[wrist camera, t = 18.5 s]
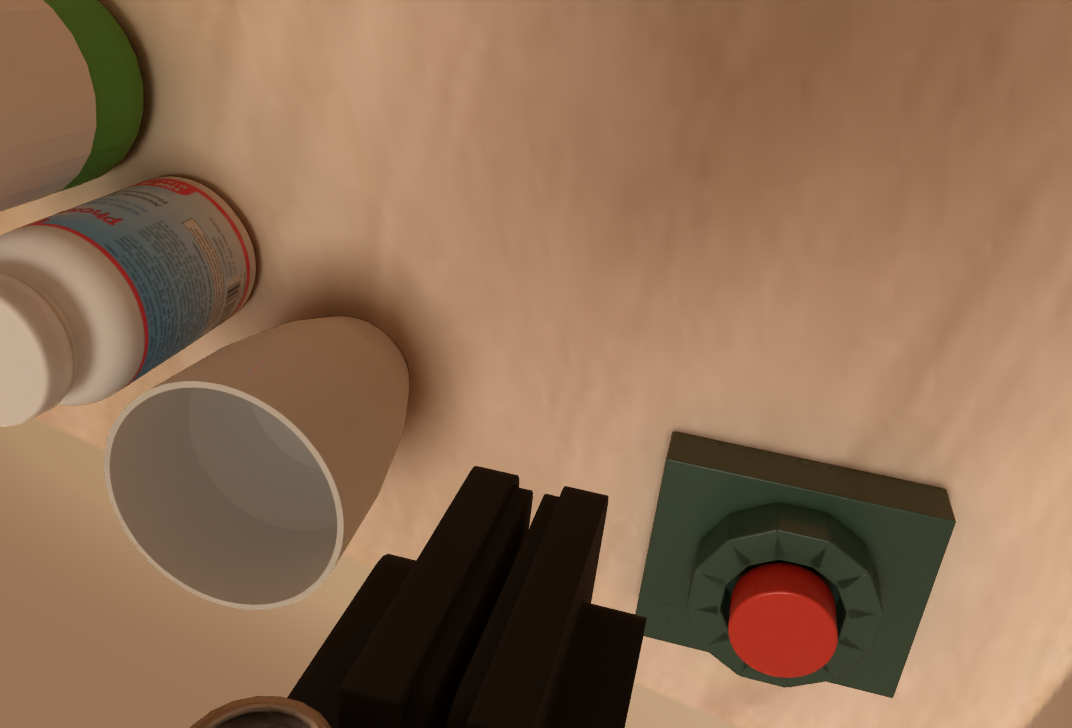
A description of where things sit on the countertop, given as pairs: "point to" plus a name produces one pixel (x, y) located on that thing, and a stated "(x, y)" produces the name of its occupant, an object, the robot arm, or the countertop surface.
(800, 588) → the button
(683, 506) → the button housing
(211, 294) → the pill bottle
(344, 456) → the cup
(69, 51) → the wine bottle
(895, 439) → the countertop surface
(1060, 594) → the countertop surface
